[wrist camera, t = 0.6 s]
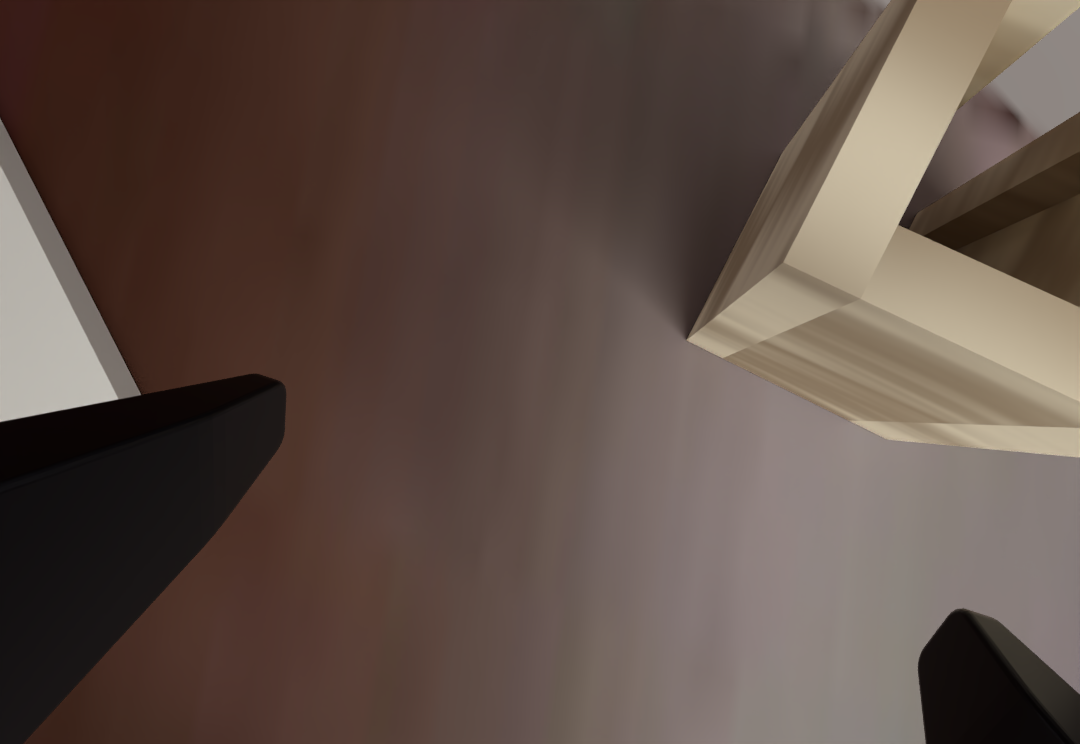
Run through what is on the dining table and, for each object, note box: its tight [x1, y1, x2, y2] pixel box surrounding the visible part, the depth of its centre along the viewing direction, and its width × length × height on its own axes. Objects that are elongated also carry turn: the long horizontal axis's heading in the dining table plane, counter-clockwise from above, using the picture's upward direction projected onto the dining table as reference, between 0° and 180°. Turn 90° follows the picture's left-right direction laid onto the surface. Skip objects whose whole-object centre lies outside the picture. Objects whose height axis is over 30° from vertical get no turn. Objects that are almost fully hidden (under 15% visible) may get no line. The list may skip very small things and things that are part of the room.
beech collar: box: [686, 0, 1080, 457], centre depth 15 cm, size 7×7×11 cm
